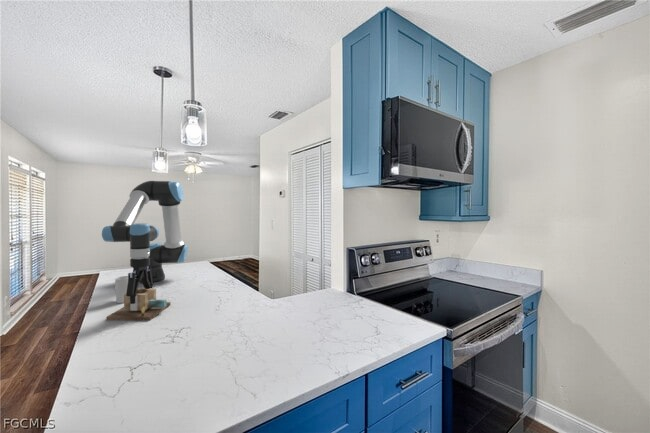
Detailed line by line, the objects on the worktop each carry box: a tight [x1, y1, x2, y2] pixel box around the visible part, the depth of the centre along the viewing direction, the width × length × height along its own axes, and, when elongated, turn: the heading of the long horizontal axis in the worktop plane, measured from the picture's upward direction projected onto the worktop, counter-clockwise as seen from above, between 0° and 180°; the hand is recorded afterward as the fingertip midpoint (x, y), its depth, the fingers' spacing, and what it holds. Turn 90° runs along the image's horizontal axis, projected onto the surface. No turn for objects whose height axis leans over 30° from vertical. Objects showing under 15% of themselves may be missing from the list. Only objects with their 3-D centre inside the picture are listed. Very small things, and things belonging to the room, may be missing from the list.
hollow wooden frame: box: [123, 288, 167, 310], centre depth 130 cm, size 16×9×7 cm, turn 93°
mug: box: [114, 275, 128, 304], centre depth 144 cm, size 10×7×12 cm, turn 66°
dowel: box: [141, 307, 145, 316], centre depth 123 cm, size 1×1×4 cm
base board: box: [105, 301, 172, 321], centre depth 131 cm, size 18×18×2 cm
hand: (140, 306), depth 130 cm, fingers closed on hollow wooden frame, 9 cm apart
